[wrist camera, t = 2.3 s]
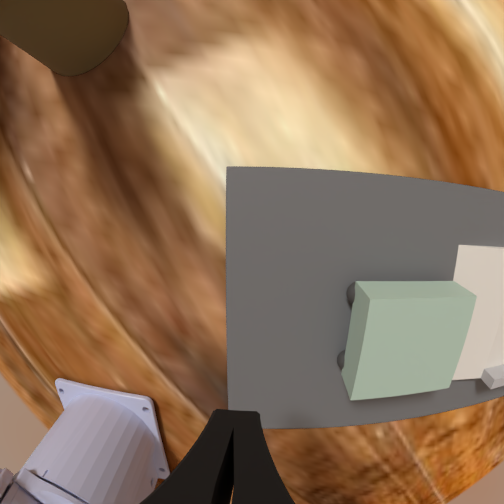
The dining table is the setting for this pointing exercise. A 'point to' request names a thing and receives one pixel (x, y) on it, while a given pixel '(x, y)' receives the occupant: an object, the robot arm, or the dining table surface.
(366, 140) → the dining table surface
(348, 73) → the dining table surface
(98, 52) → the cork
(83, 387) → the robot arm
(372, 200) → the dock
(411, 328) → the cart
